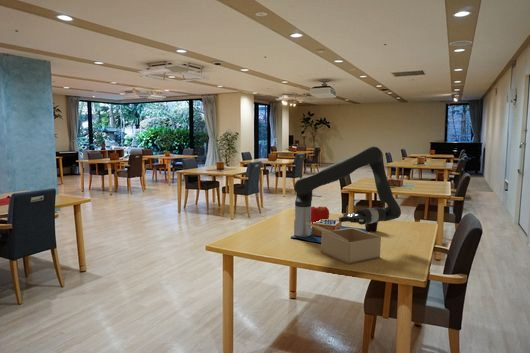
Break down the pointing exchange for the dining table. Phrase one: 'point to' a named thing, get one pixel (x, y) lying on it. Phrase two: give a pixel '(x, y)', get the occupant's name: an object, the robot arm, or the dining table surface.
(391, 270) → the dining table surface
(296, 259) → the dining table surface
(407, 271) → the dining table surface
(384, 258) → the dining table surface
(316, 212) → the tomato
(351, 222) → the robot arm
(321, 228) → the carton flap
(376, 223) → the coffee mug
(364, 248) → the carton
